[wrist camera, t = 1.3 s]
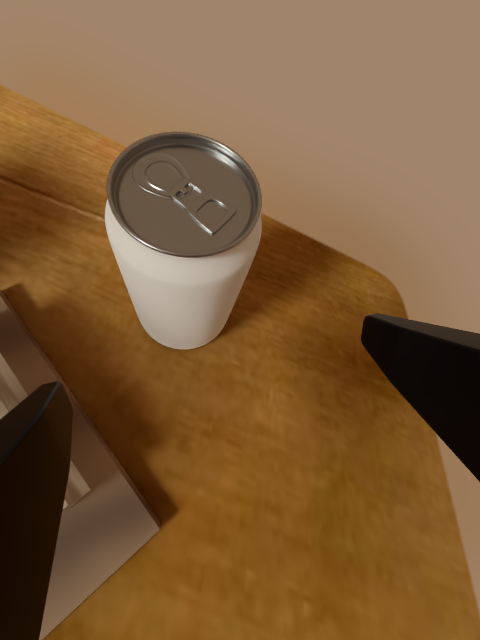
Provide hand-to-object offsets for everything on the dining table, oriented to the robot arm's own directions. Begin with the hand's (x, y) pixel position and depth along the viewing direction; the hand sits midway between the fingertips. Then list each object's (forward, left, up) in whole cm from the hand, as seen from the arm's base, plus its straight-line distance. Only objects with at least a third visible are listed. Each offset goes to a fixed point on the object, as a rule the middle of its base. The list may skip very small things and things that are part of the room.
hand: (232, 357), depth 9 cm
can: (+6, -3, -13) cm, 14 cm away
